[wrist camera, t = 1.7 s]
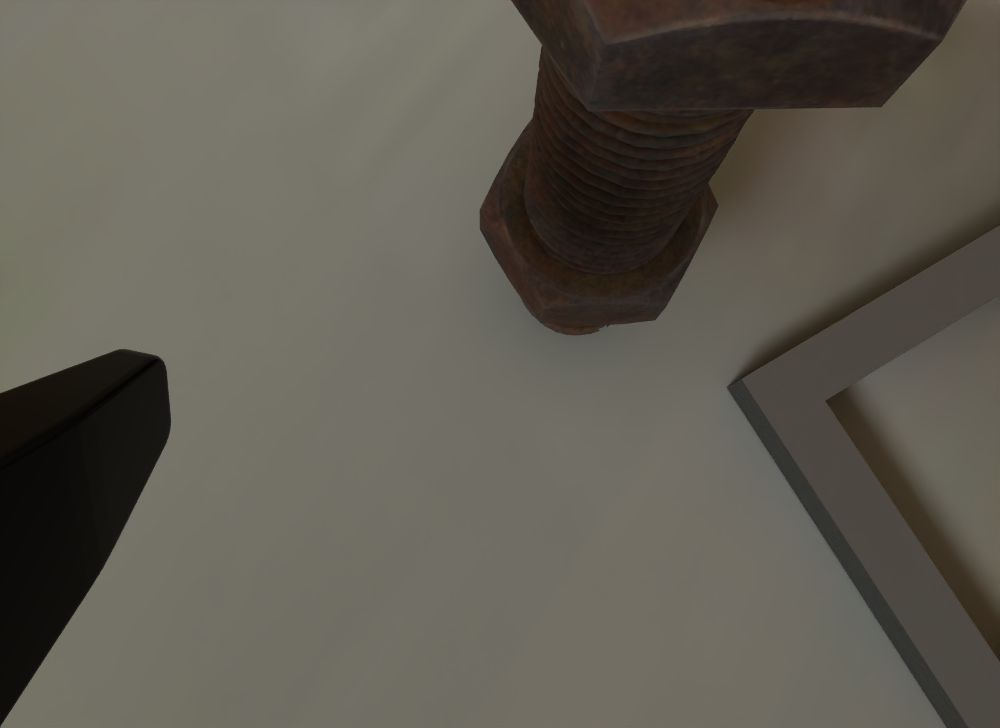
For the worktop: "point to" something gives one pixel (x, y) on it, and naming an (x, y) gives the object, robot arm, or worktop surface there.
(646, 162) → the bolt
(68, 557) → the robot arm
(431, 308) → the worktop surface
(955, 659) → the socket plate
